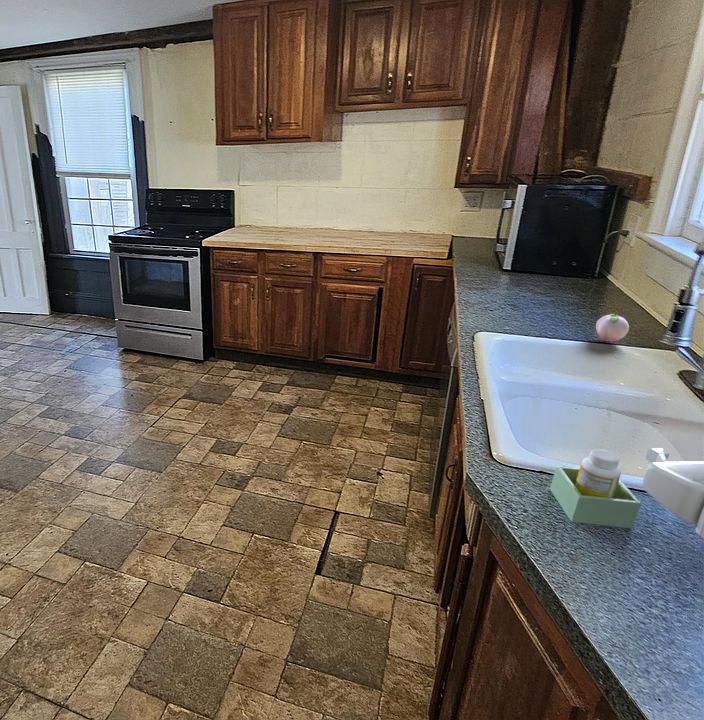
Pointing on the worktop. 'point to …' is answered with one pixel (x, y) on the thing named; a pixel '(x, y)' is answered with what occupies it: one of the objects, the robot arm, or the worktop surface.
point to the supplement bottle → (598, 474)
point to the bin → (593, 502)
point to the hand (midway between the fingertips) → (684, 451)
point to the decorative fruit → (612, 327)
